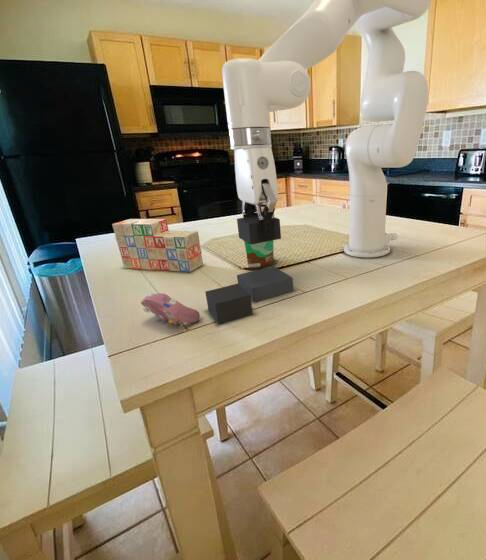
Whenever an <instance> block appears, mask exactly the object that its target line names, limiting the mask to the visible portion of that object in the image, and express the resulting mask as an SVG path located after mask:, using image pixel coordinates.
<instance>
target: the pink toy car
mask: <svg viewBox="0 0 486 560" xmlns="http://www.w3.org/2000/svg"><path fill="white" fill-rule="evenodd" d="M140 304H141V305H142V307H143V308H142V309H143V311H144V312H145V313H147V314H149V313H152V314H154V315H155V316H156V317H158V318H159V319H160V320H162V321H164V322H165V321H168V323H169V324H173V325H175V326H177V325H178V324H179V323H180V322H182V323H185V324H193V323H196V322H198V321H199V320H200V317H201V315H200V312H199V311H198V310H197V309H195V308H191V307H189V306H186V305H184V304H183V303H181V302H179V301H178V300H177V299H174V298H172V297H170V295H168V294H166V293H162V292H160V293H153V292H150V293H149V295H146V296H145V297H144V298H143V299H142V300H141V301H140Z"/></svg>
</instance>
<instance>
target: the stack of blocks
mask: <svg viewBox="0 0 486 560" xmlns="http://www.w3.org/2000/svg"><path fill="white" fill-rule="evenodd" d="M111 225H112V229H113V232H114V235H115V236H114V237H115V240H116V243H117V246H118V249H119V253H120V257H121V261H122V264H123V268H124V269H134V270H135V269H136V270H147V271H148V270H149V271H152V270H153V271H167V272H168V271H169V272H170V271H171V272H183V273H191V272H193V271H195V270H196V269H198V268H199V267H202V266H203V265H204V260H203V255H202V247H201V244H200V243H201V241H200V236H199V231H198V230H180V229H179V230H177V229H176V230H175V229H173V230H169V226H168V221H167V219H166V218H129V219H125V220H121V221H119V222H114V223H112V224H111Z"/></svg>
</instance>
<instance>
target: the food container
mask: <svg viewBox="0 0 486 560" xmlns="http://www.w3.org/2000/svg"><path fill="white" fill-rule="evenodd" d="M242 241H243V242H244V247H245V255H246V260H247V266H248V271H256V270H260V269H264V268H268V267H272V266H273V265H274V261H275V260H274V240H272V241H267V242H262V243H257V244H249V243H247V242H246V241H244V240H242Z"/></svg>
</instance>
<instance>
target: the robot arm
mask: <svg viewBox="0 0 486 560" xmlns="http://www.w3.org/2000/svg"><path fill="white" fill-rule="evenodd" d="M431 3H432V0H313V2H312V3H311V4H310V6H309V7H308V8H307V10H306V11H305V12H304V13H303V14H302V15H301V16H300V17H299V18H298V19H297V20H296V21H295V22H294V23H293V24H292V25H291V26H290V27H289V28H288V29H287V30H286V31H285V32H284V33H283V34H282V35H281V36H280V37H279V38H278V39H276V40H275V41H274V42H273V43H272V45H270V46H269V47H268V48H267V49H266V50H265V51H264V53H262V55H260V57H259V59H256V58H252V57H251V58H250V57H238V58H233V59H230V60H229V59H228V60H227V61H225V62H224V63H223V65H222V68H221V77H222V78H221V79H222V87H223V95H224V105H225V112H226V121H227V122H226V123H227V130H228V139H229V147H230V150H234V151H233V153H234V156H233V157H234V174H235V186H236V192H237V198H238V200H240V204H241V213H242V218H245V217H252V216H258V217H259V220H257V225H258V236H259V240H260V241H264V240H269V239H274V238H275V231H274V217H275V211H276V206H277V203H278V201H279V187H278V178H277V172H276V171H277V170H276V169H277V168H276V164H275V158H274V154H273V149H272V148H273V147H272V145H273V144H272V133H271V120H270V119H271V118H270V113H272V112H279V111H285V110H292V109H294V108H298V107H300V106H301V105H302V104H304V103H305V102H306V101H307V99H308V98H309V96H310V94H311V88H312V82H311V81H312V80H311V77H310V75H309V72H308V71H307V70H308V69H310V68H312V67H314V66H316V65H318V64H319V63H321V62H323V61H324V60H326V59H327V58H329V57H330V56H331V55H333V54H334V53H335V52H336V51H337V50H338V48H339V46H340V44H341V43H342V42H343V41H344V39H345V37H346V36H347V35H348V33H350V31H351V29H352V28H353V27H354V25H355V24H356V22H357V25H358V27H359V30H360V31H361V34H362V36H363V38H364V41H365V44H366V48H367V52H368V53H367V54H368V59H367V66H366V71H365V76H364V82H363V87H362V93H361V98H360V104H359V105H360V106H359V108H360V114H361V116H362V118H363V119H364V120H366V121H368V122H372V123H373V122H376V123H377V122H389V121H393V123H387V124H386V123H385V124H374V125H373V124H372V125H365V126H360V127H359V128H355V129H354V130H352V131H351V133H349V135H348V136H347V138H346V141H345V146H344V147H345V148H344V149H345V151H344V152H345V157H346V158H345V159H346V162H347V163H346V164H347V168H348V169H347V170H348V178H349V180H348V182H349V183H348V184H349V187H348V188H349V197H348V199H349V203H348V205H349V208H348V209H349V210H348V211H349V213H348V217H349V218H348V219H349V220H348V223H349V224H348V231H349V232H348V238H349V239H348V243H346V244H344V246H343V252H344V253H345V254H346V255H348V256H351V257H354V258H355V257H356V258H365V259H366V258H367V259H368V258H369V259H370V258H371V259H372V258H379V257H383V256H386V255H388V254H389V253H390V252H391V246H390V245H389V244H388V243H389V242H390V241H395V240H397V239H398V234H397V232H392V233H387V232H386V219H387V218H386V217H387V216H386V215H387V197H388V182H387V179H386V176H385V174H384V172H383V169H382V168H384V169H385V168H387V169H388V168H389V169H395V168H404V167H407V166H408V165H410V164H411V163H412V161H414V158H415V157H416V153H417V151H418V148H419V144H420V143H419V142H420V139H421V135H422V131H423V126H424V123H425V118H426V114H427V109H428V104H429V98H430V97H429V94H430V93H429V92H430V91H429V84H428V80H427V78H426V77H425V75H424V74H423V73H422V72H420V71H417V70H407V71H404V69H405V68H404V67H405V64H406V63H405V62H406V51H405V48H404V46H403V44H402V42H401V40H400V38H399V37H398V36H397V34H396V32H395V31H394V29H393V28H394V27H398V26H400V25H403V24H406V23H409V22H413V21H415V20H418V19H419V18H421V17H422V16H423V15H425V13H426V12H428V9H429V8H430V6H431ZM262 208H263V209H262Z"/></svg>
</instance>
